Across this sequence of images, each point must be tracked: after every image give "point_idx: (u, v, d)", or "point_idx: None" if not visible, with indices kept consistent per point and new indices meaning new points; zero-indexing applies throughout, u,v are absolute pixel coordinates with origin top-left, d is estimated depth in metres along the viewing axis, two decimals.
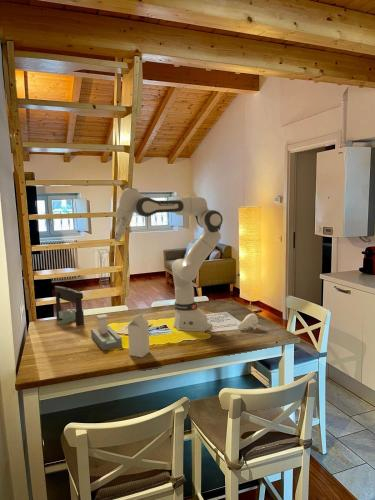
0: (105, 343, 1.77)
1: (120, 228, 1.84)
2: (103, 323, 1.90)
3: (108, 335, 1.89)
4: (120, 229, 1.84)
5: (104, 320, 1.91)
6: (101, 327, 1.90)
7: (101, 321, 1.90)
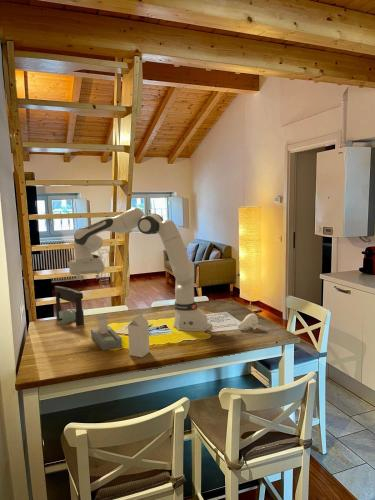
0: (105, 343, 1.77)
1: (69, 270, 2.08)
2: (103, 323, 1.90)
3: (108, 335, 1.89)
4: None
5: (104, 320, 1.91)
6: (101, 327, 1.90)
7: (101, 321, 1.90)
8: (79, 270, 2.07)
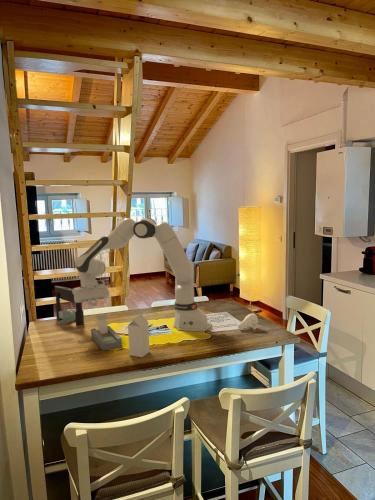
0: (105, 343, 1.77)
1: (74, 298, 2.05)
2: (103, 323, 1.90)
3: (108, 335, 1.89)
4: (74, 299, 2.05)
5: (104, 320, 1.91)
6: (101, 327, 1.90)
7: (101, 321, 1.90)
8: (83, 297, 2.04)
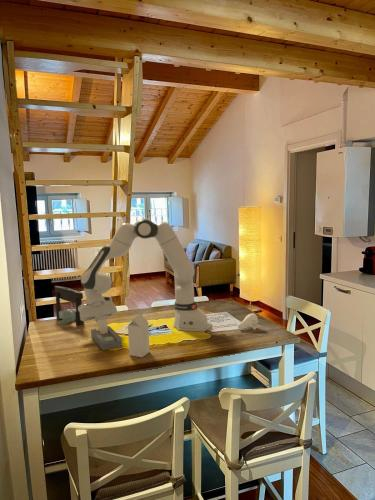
0: (105, 343, 1.77)
1: (80, 316, 1.95)
2: (103, 323, 1.90)
3: (108, 335, 1.89)
4: (80, 317, 1.94)
5: (104, 320, 1.91)
6: (101, 327, 1.90)
7: (101, 321, 1.90)
8: (90, 315, 1.94)
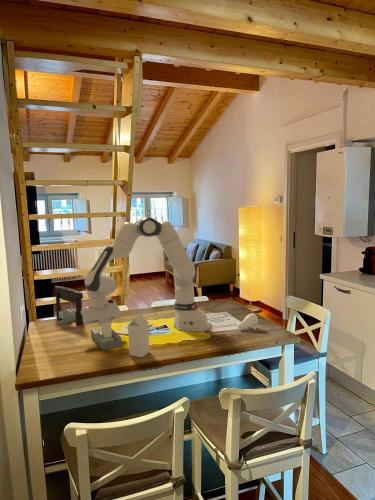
0: (105, 343, 1.77)
1: (83, 319, 1.89)
2: (106, 326, 1.84)
3: None
4: (83, 320, 1.88)
5: (108, 324, 1.85)
6: (105, 331, 1.84)
7: (105, 325, 1.84)
8: (93, 319, 1.88)
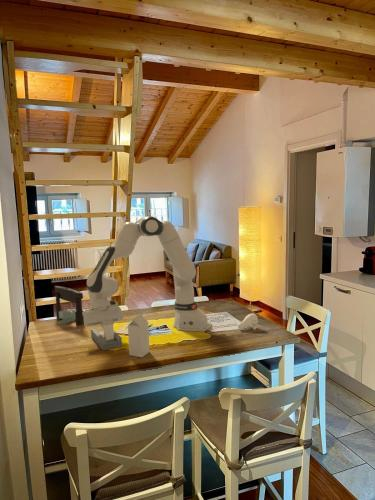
0: (105, 343, 1.77)
1: None
2: (109, 328, 1.81)
3: None
4: None
5: (110, 326, 1.81)
6: (107, 333, 1.81)
7: (107, 327, 1.81)
8: (95, 321, 1.85)
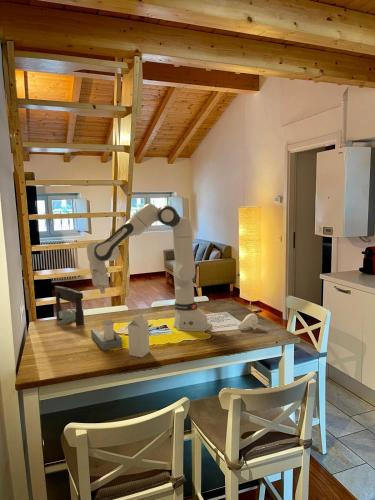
0: (105, 343, 1.77)
1: (93, 280, 1.94)
2: (109, 328, 1.81)
3: None
4: (93, 281, 1.94)
5: (110, 326, 1.81)
6: (107, 333, 1.81)
7: (107, 327, 1.81)
8: (101, 283, 1.98)
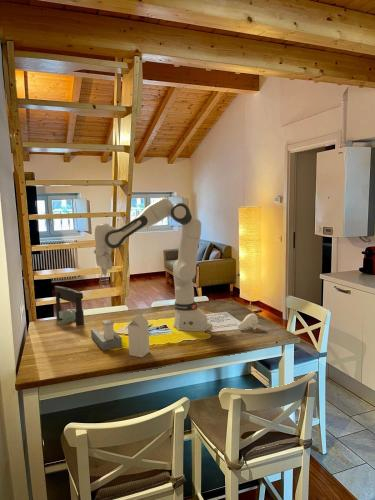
0: (105, 343, 1.77)
1: (107, 264, 2.00)
2: (109, 328, 1.81)
3: None
4: (107, 265, 2.00)
5: (110, 326, 1.81)
6: (107, 333, 1.81)
7: (107, 327, 1.81)
8: None
